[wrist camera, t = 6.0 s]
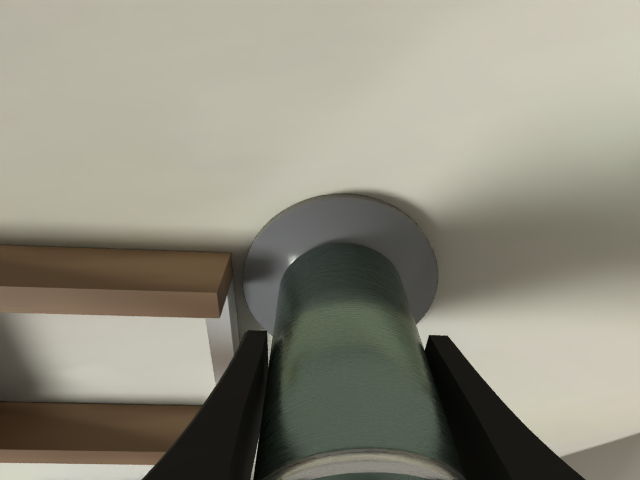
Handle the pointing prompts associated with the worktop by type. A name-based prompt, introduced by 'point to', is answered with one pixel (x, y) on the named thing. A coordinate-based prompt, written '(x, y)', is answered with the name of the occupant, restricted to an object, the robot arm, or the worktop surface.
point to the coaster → (338, 227)
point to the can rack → (122, 300)
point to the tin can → (350, 377)
